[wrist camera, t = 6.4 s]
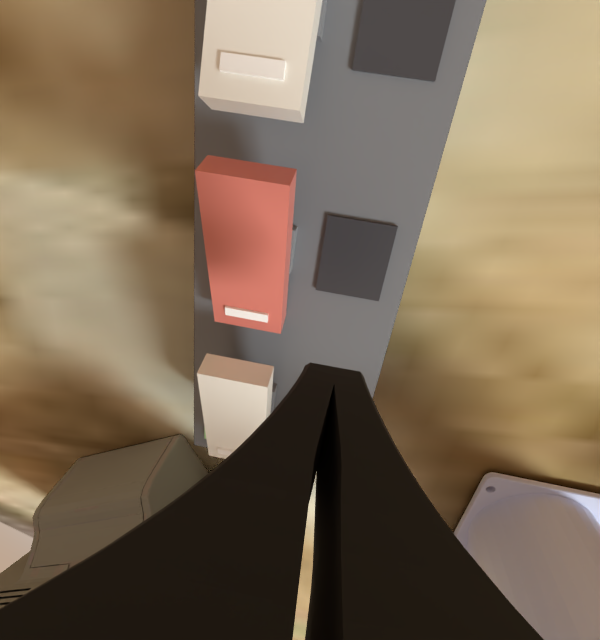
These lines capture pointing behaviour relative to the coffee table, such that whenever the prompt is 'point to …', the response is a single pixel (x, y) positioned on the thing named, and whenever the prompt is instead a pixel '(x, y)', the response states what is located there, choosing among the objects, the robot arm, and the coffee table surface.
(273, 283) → the plate
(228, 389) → the block
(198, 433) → the power strip
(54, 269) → the coffee table surface
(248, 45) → the rocker
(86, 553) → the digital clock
